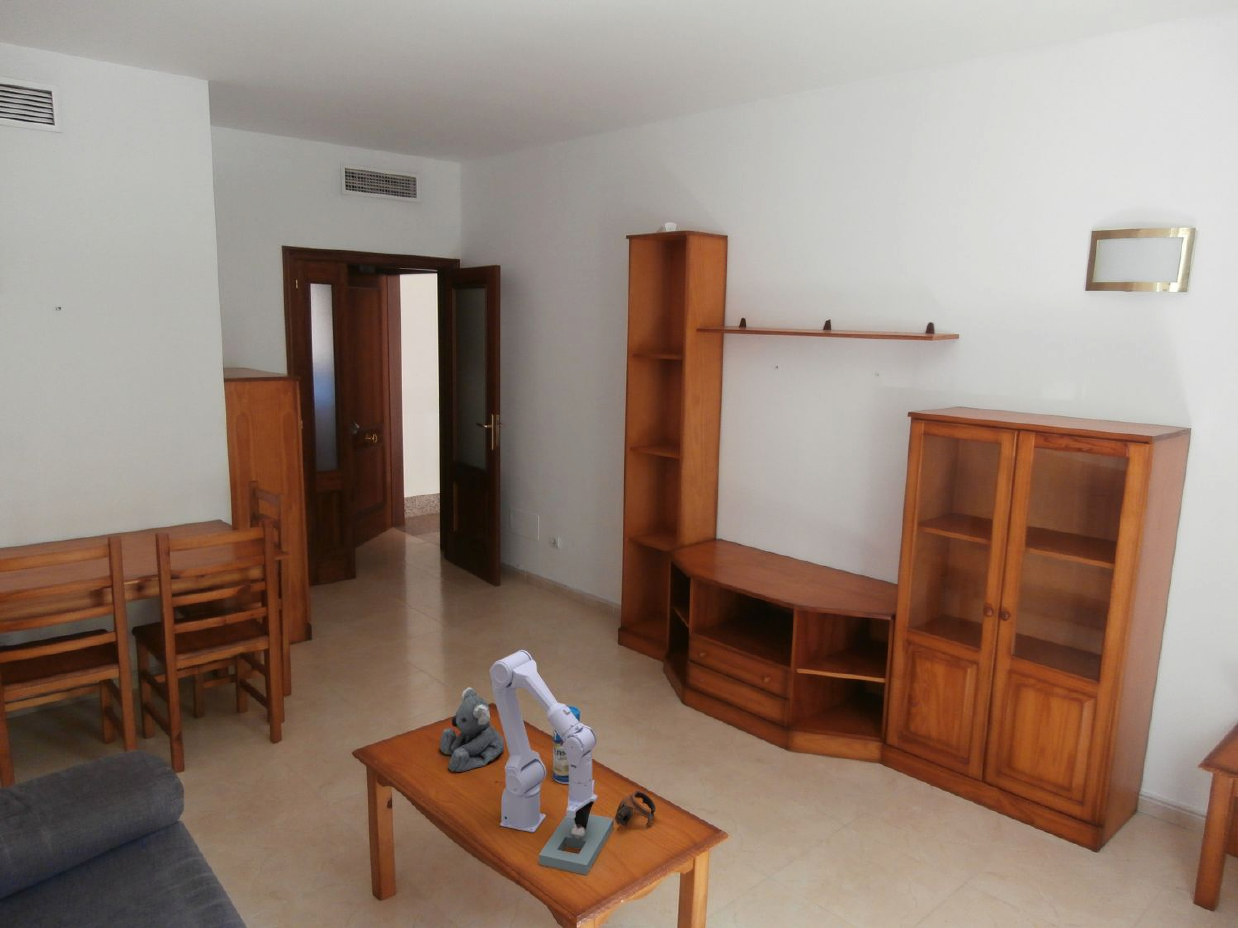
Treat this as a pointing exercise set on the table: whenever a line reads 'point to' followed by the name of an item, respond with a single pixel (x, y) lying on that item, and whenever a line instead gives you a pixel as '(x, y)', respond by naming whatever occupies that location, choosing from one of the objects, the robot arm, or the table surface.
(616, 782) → the table surface
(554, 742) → the beverage bottle
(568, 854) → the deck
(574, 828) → the ball
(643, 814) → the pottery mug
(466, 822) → the table surface
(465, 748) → the koala plush
